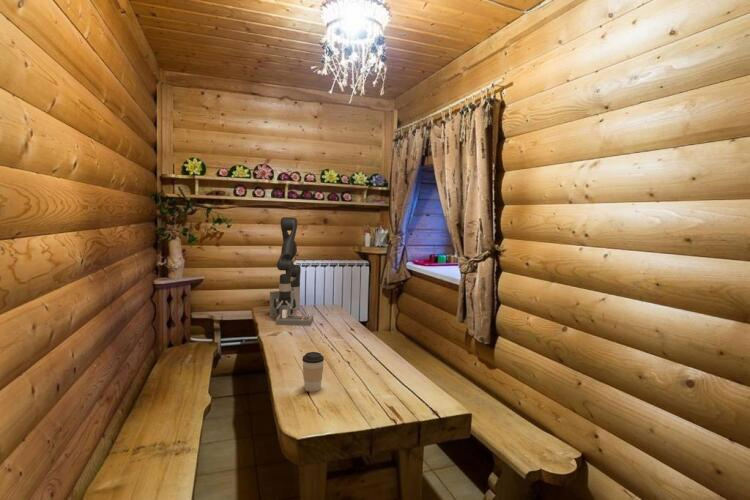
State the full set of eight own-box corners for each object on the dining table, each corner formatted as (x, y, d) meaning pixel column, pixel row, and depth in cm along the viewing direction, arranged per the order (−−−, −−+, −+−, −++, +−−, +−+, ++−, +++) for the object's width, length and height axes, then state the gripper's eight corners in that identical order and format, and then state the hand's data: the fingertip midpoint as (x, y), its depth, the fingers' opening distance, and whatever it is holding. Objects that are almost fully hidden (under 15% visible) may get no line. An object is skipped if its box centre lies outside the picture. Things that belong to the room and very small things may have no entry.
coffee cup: (313, 381, 181) (314, 348, 180) (327, 387, 176) (328, 353, 174) (297, 388, 174) (297, 353, 173) (311, 394, 169) (312, 359, 167)
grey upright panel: (269, 317, 286) (270, 288, 284) (269, 316, 290) (269, 287, 288) (293, 316, 291) (293, 288, 290) (292, 314, 295) (292, 287, 293)
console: (280, 319, 281) (280, 313, 280) (313, 320, 281) (313, 314, 280) (276, 324, 269) (276, 317, 268) (310, 325, 269) (310, 319, 268)
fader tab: (283, 316, 277) (283, 308, 276) (287, 316, 277) (287, 309, 276) (282, 318, 272) (282, 310, 271) (285, 318, 272) (285, 310, 271)
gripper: (296, 289, 276) (296, 313, 278) (275, 288, 276) (275, 312, 278) (294, 291, 269) (294, 315, 270) (272, 290, 269) (272, 315, 271)
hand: (284, 314), depth 274 cm, fingers open, 8 cm apart
